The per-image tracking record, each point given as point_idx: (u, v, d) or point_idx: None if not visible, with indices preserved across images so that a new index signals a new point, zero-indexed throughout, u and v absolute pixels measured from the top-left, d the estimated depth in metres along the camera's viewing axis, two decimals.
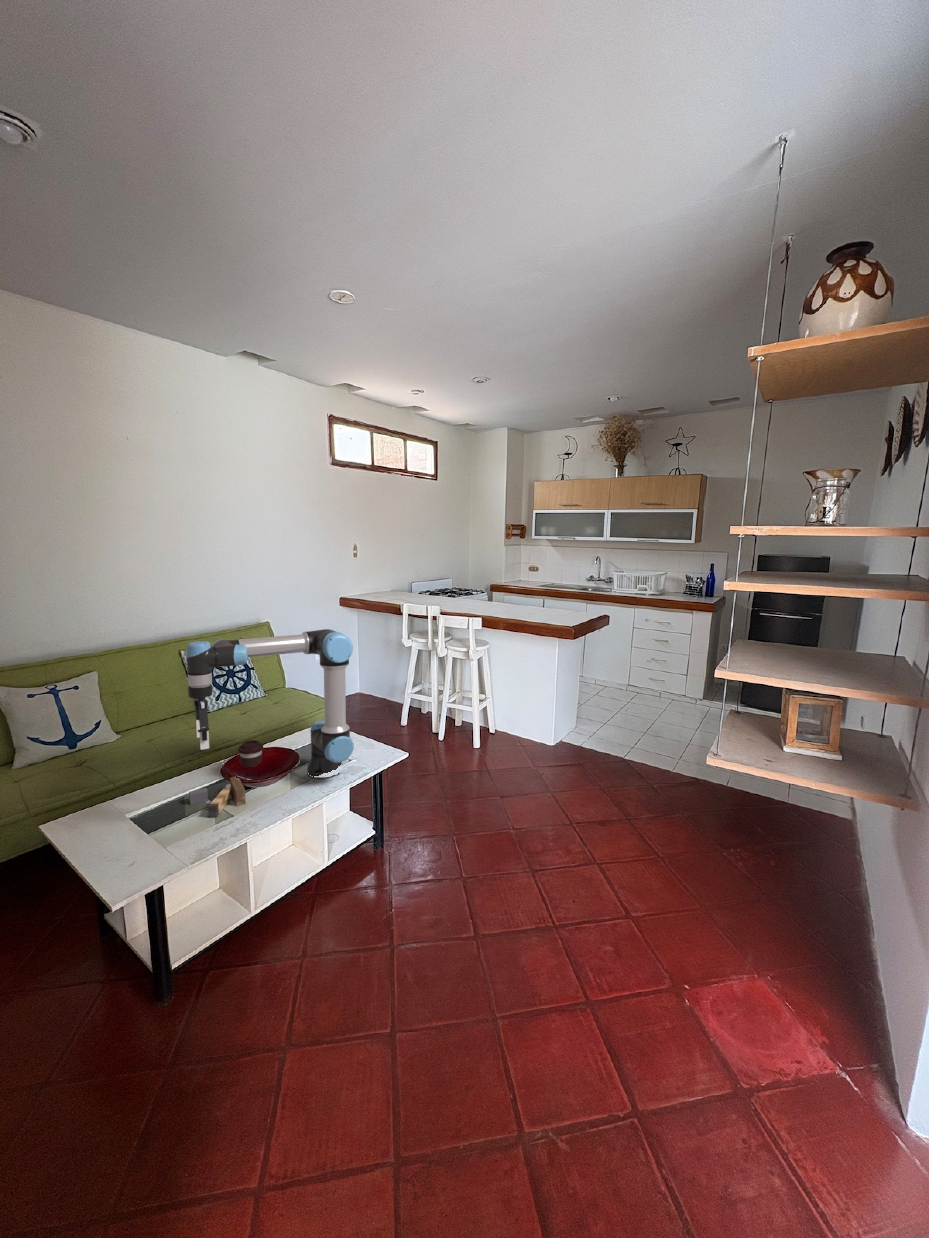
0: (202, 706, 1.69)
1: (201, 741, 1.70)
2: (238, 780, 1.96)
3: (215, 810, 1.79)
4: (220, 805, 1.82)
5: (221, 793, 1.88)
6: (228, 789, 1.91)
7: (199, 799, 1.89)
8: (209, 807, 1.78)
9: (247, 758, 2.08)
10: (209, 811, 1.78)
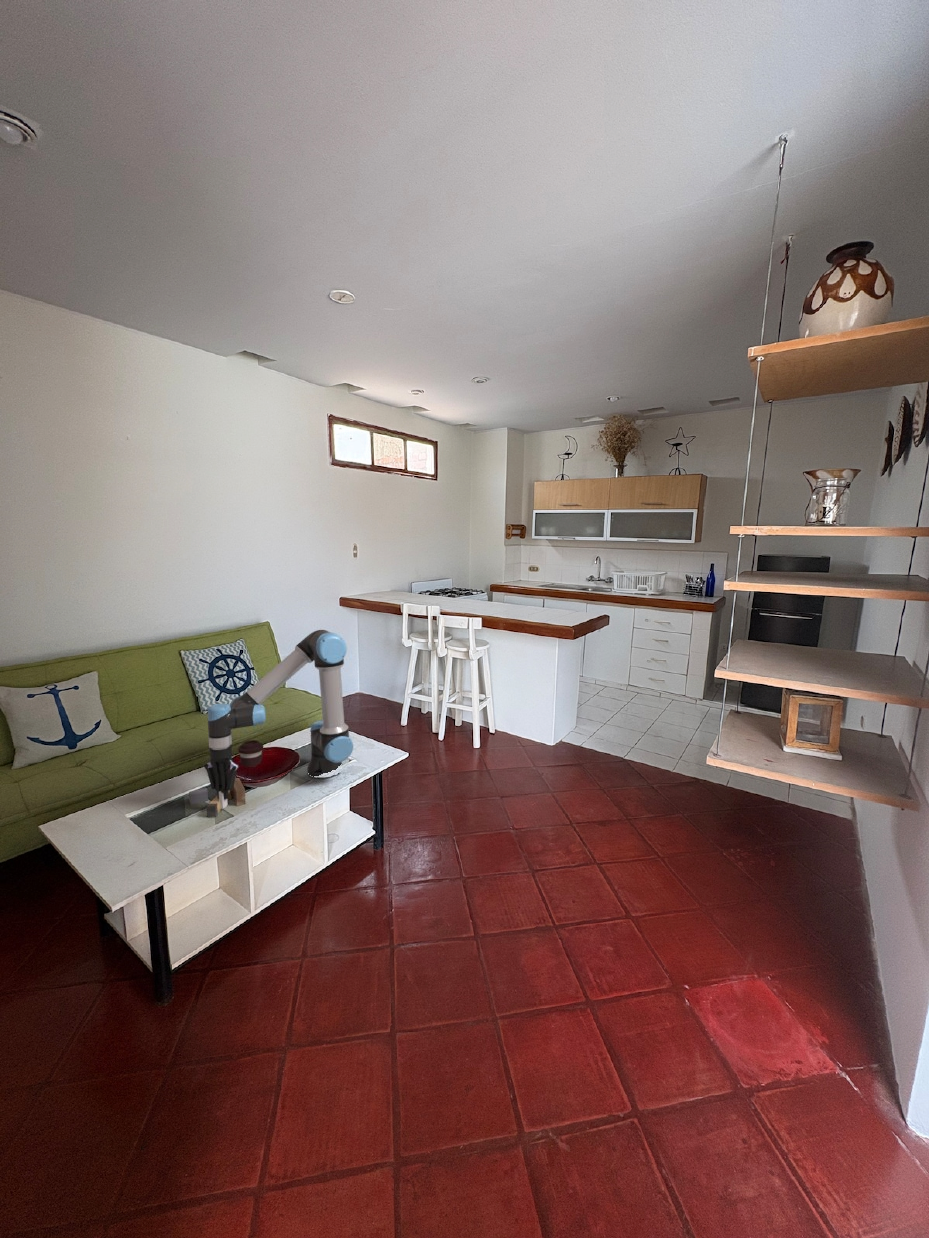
0: None
1: None
2: (238, 780, 1.96)
3: (214, 810, 1.79)
4: None
5: None
6: None
7: (199, 799, 1.89)
8: (208, 807, 1.78)
9: (247, 758, 2.08)
10: (208, 811, 1.78)
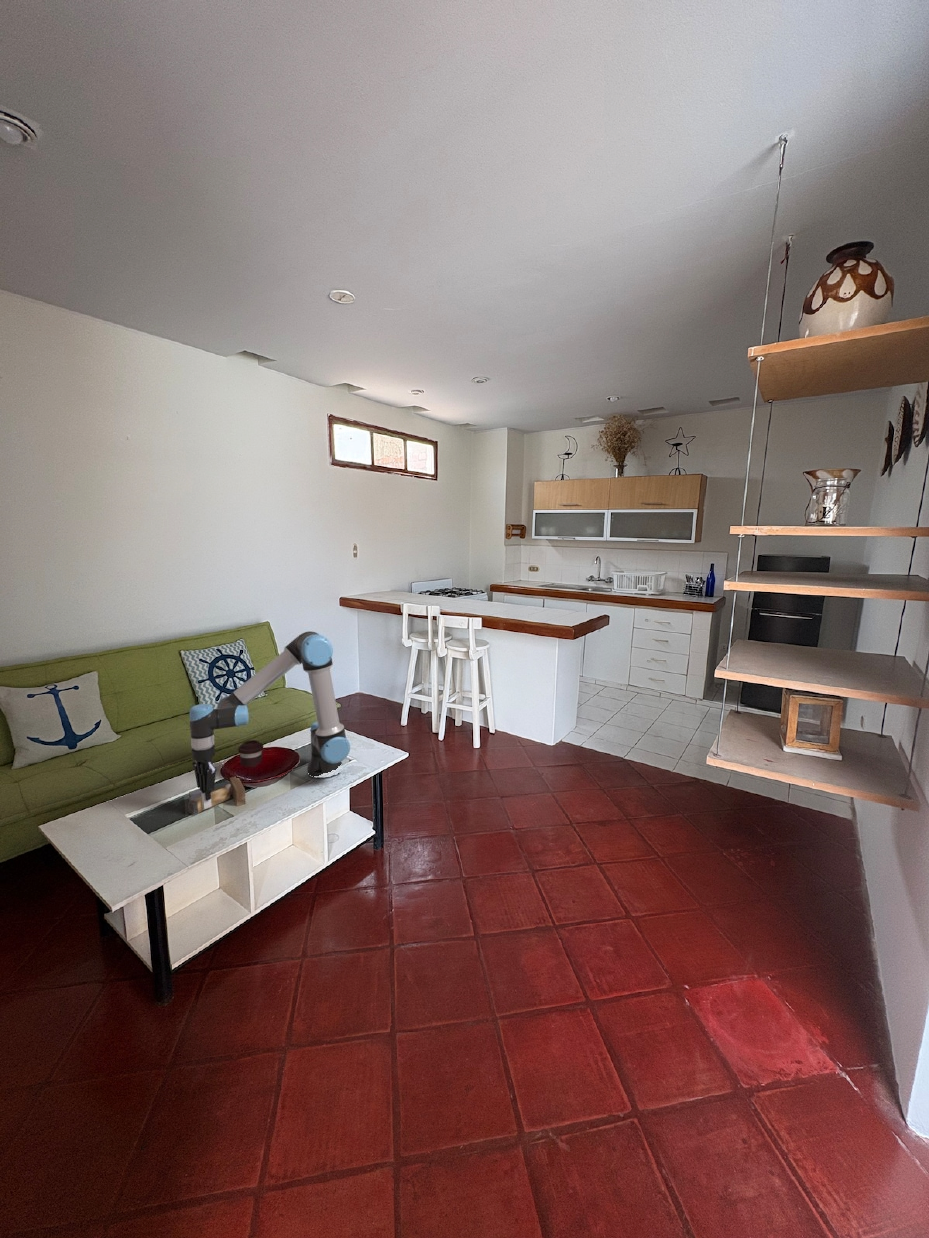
0: None
1: None
2: (238, 780, 1.96)
3: (192, 808, 1.80)
4: None
5: (215, 792, 1.89)
6: (225, 789, 1.91)
7: None
8: (189, 803, 1.81)
9: (247, 758, 2.08)
10: (189, 807, 1.81)
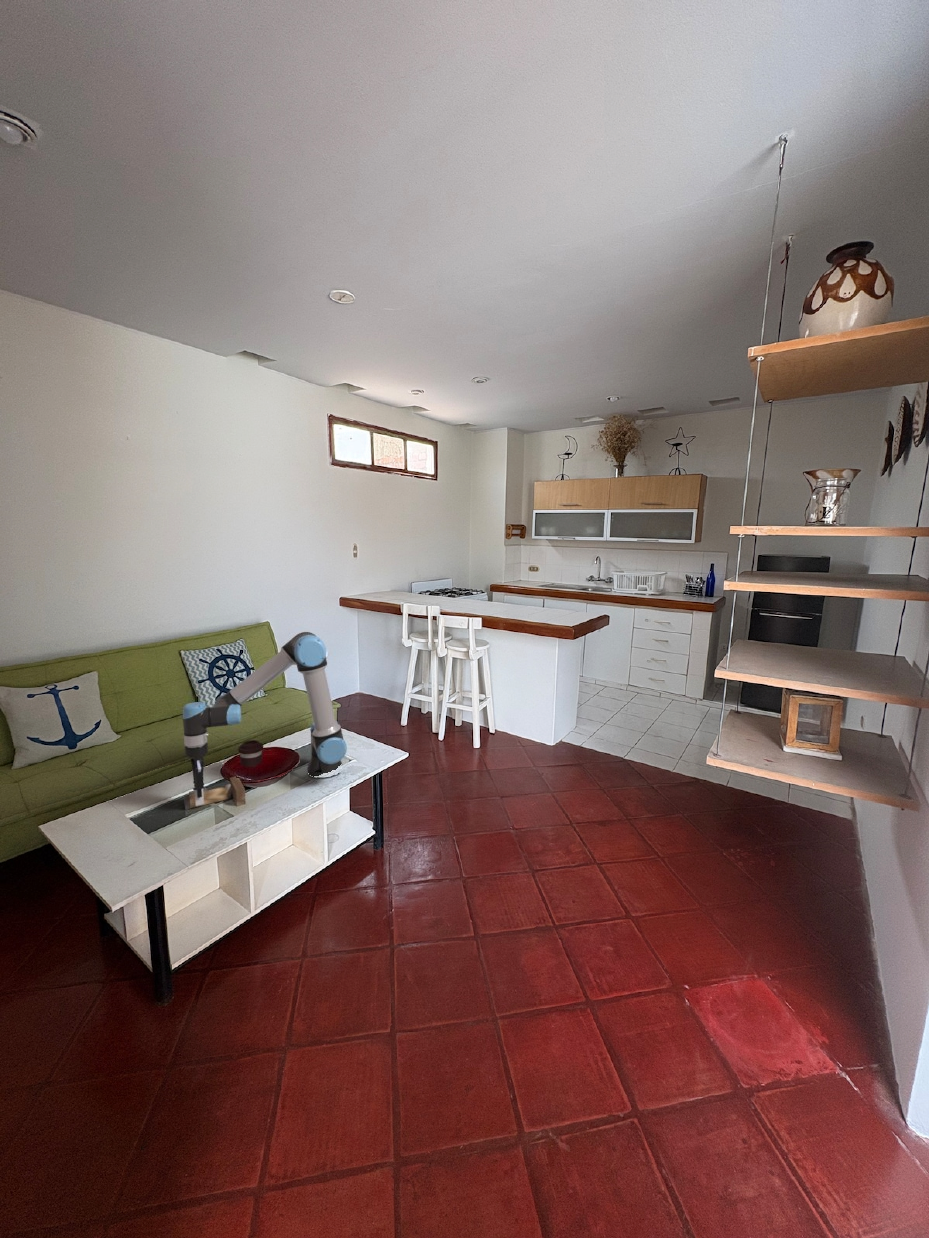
0: None
1: None
2: (238, 780, 1.96)
3: (185, 802, 1.84)
4: None
5: (213, 790, 1.91)
6: (223, 789, 1.91)
7: None
8: (184, 797, 1.85)
9: (247, 758, 2.08)
10: (184, 801, 1.86)
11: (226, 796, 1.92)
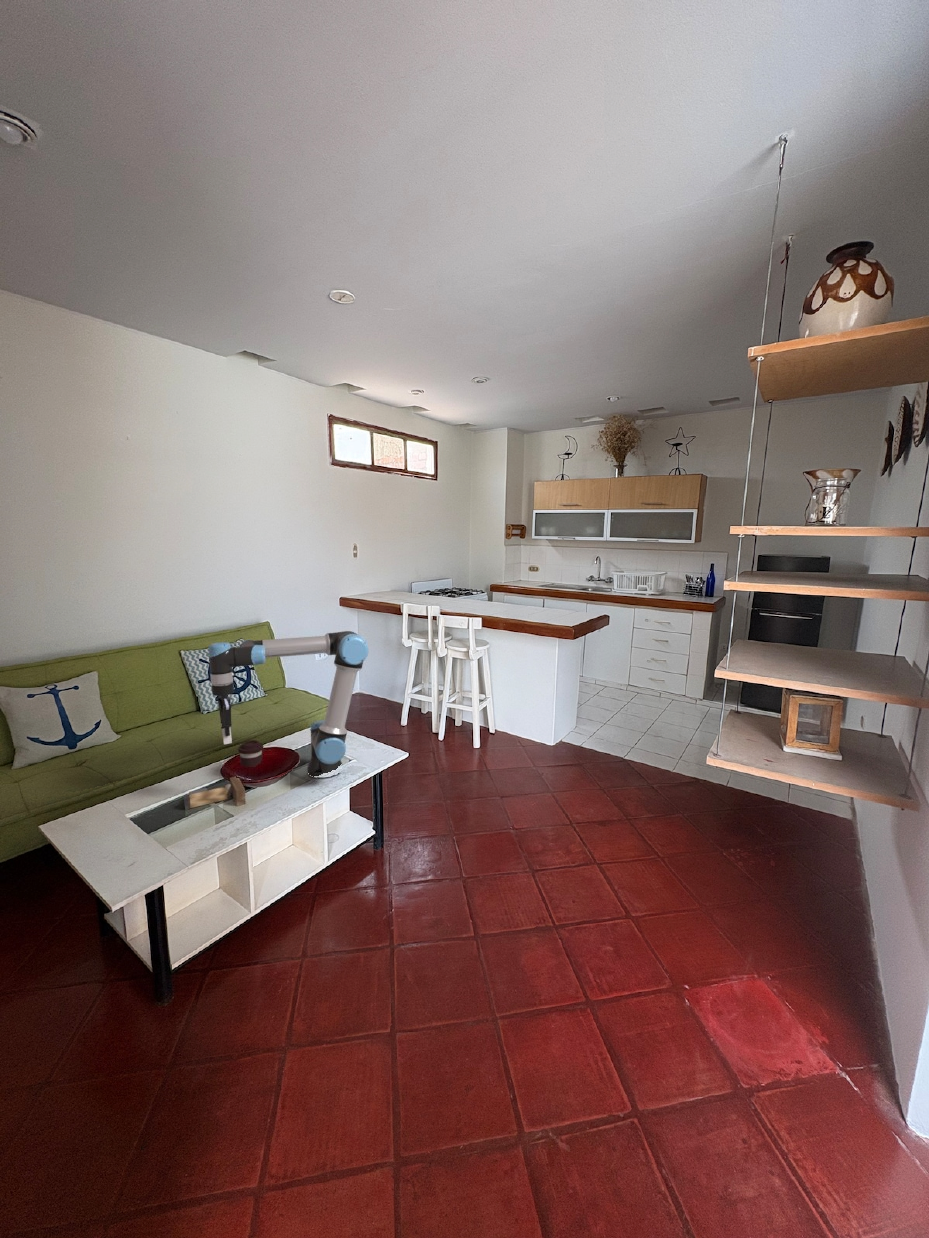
0: None
1: None
2: (238, 780, 1.96)
3: (185, 802, 1.84)
4: (196, 800, 1.86)
5: (213, 790, 1.91)
6: (223, 789, 1.91)
7: None
8: (184, 797, 1.85)
9: (247, 758, 2.08)
10: (184, 801, 1.86)
11: (226, 796, 1.92)
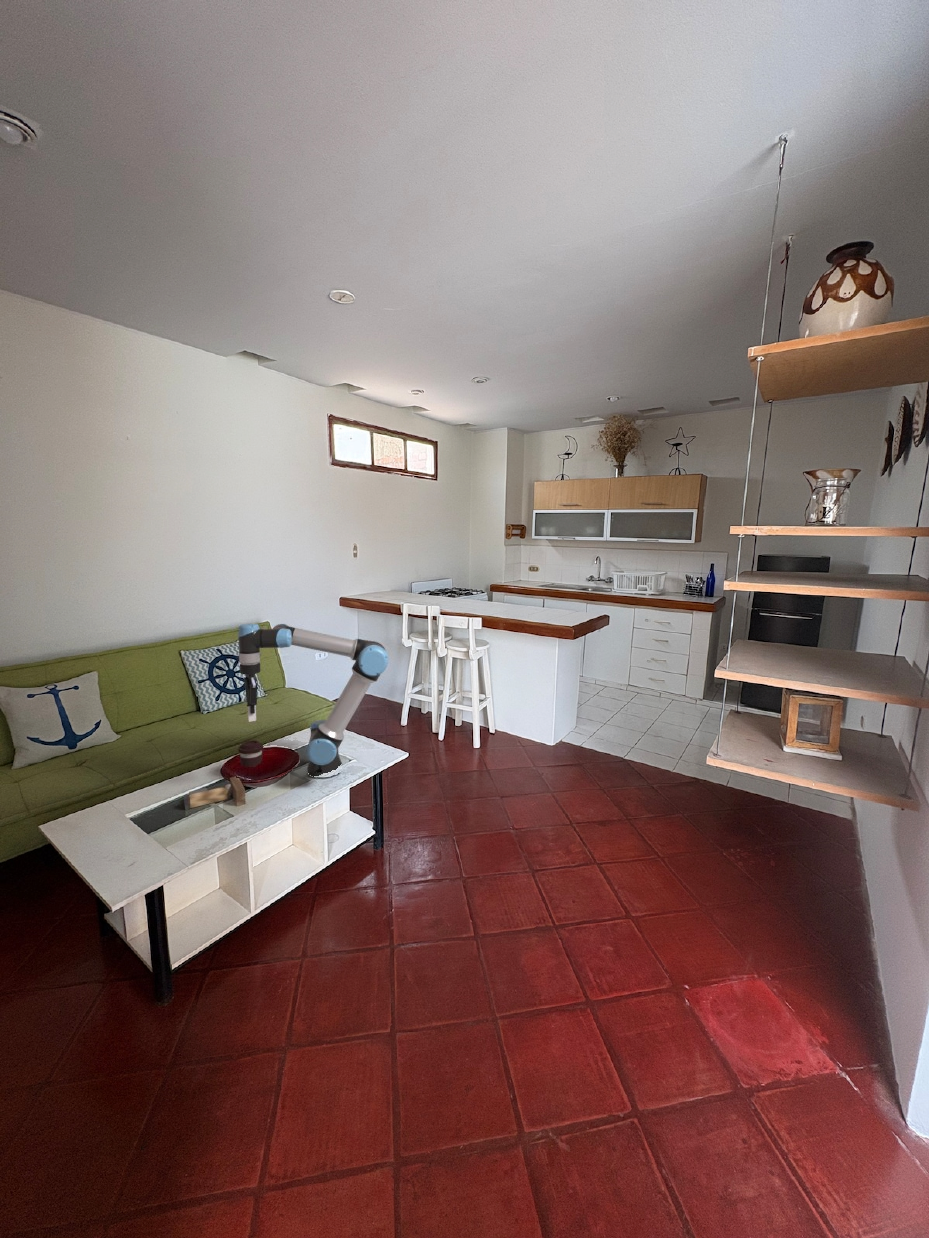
0: None
1: None
2: (238, 780, 1.96)
3: (185, 802, 1.84)
4: (196, 800, 1.86)
5: (213, 790, 1.91)
6: (223, 789, 1.91)
7: None
8: (184, 797, 1.85)
9: (247, 758, 2.08)
10: (184, 801, 1.86)
11: (226, 796, 1.92)
